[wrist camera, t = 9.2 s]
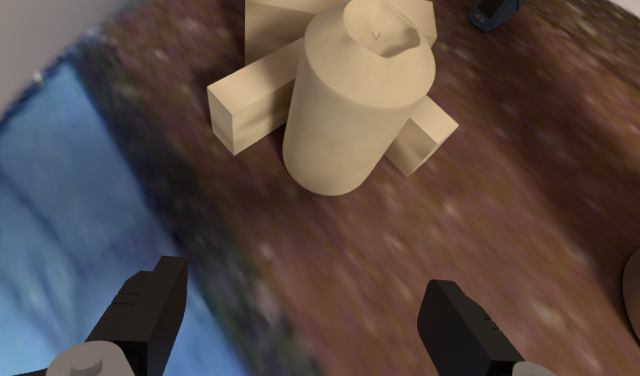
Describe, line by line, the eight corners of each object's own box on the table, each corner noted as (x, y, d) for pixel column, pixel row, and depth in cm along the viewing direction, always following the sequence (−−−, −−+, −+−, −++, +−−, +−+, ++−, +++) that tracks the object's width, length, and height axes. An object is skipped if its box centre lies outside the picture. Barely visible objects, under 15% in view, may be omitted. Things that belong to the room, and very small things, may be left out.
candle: (386, 157, 23) (479, 31, 14) (332, 216, 20) (403, 109, 12) (321, 103, 24) (370, -48, 15) (262, 154, 21) (277, 9, 12)
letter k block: (416, 63, 27) (450, 5, 22) (428, 180, 23) (473, 137, 18) (232, 31, 25) (230, -40, 20) (208, 152, 21) (199, 96, 16)
